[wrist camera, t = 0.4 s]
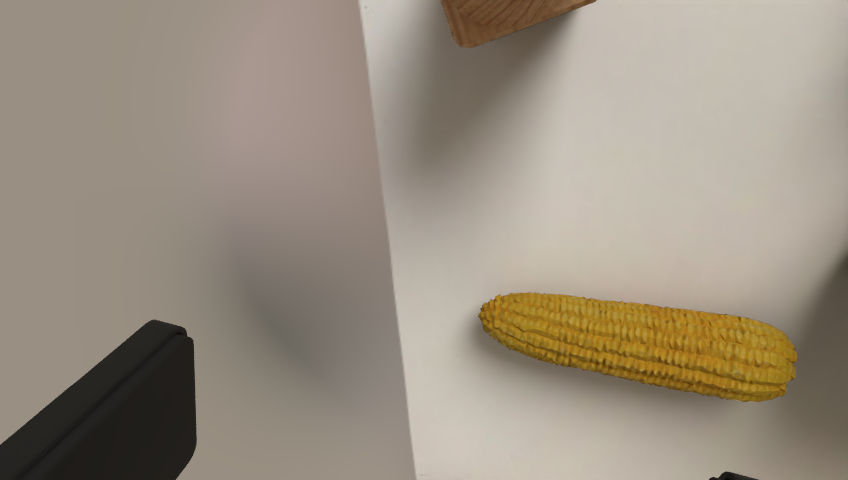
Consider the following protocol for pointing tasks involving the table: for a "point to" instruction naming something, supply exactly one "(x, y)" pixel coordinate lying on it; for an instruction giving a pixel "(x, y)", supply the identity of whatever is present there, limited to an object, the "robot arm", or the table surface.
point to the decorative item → (500, 17)
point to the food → (647, 343)
